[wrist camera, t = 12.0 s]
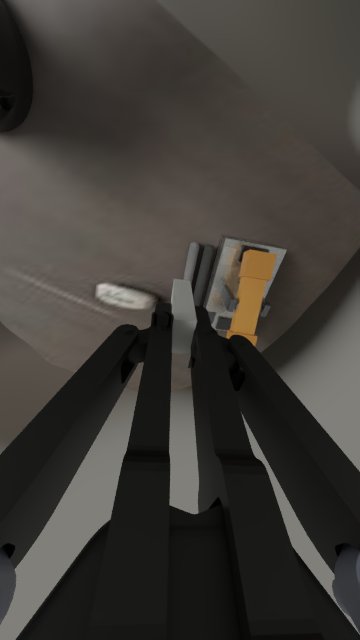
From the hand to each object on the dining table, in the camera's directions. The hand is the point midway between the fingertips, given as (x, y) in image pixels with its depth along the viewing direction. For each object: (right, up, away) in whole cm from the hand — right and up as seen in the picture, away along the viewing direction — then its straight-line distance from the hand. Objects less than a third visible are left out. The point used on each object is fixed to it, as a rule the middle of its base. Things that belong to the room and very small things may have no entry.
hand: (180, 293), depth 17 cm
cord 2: (+5, +7, +25) cm, 26 cm away
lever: (+13, 0, +18) cm, 22 cm away
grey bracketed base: (+13, +5, +26) cm, 29 cm away
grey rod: (+2, +7, +25) cm, 26 cm away
